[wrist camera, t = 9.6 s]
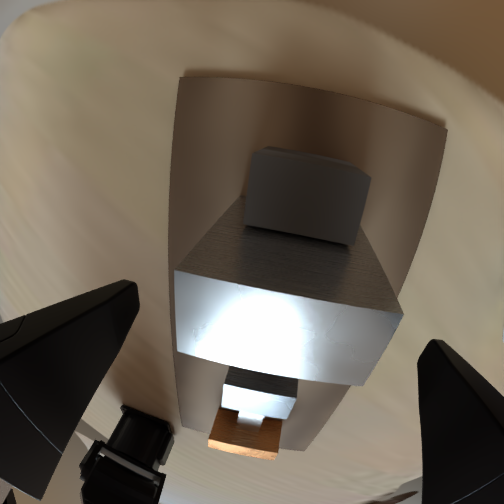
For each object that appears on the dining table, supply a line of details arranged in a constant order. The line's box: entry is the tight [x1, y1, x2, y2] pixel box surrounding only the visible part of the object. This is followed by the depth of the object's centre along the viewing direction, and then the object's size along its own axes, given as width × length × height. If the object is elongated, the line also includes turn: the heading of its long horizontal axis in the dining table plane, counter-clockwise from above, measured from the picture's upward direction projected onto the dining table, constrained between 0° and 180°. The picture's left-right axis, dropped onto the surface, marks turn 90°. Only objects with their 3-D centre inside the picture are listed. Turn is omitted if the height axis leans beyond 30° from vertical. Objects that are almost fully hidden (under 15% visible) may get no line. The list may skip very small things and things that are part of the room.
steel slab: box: [174, 195, 404, 386], centre depth 11 cm, size 6×3×8 cm, turn 83°
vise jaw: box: [208, 365, 298, 460], centre depth 18 cm, size 6×12×4 cm, turn 173°
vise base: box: [168, 77, 448, 451], centre depth 16 cm, size 14×32×5 cm, turn 173°
